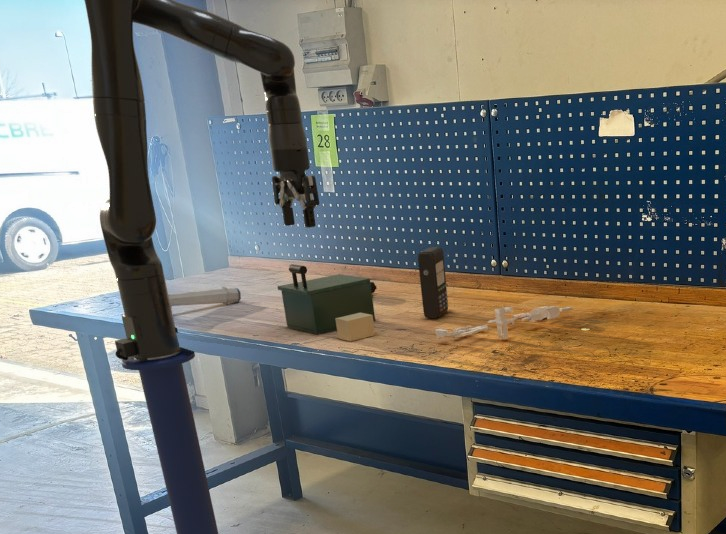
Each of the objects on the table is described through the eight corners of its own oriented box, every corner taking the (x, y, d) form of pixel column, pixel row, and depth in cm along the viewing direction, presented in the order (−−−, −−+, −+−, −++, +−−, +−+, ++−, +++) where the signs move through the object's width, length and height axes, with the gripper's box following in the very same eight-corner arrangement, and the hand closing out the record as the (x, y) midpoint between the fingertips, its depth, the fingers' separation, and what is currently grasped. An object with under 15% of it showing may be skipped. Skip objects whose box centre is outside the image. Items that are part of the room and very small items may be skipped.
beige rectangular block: (350, 341, 178) (347, 320, 177) (338, 338, 181) (335, 318, 180) (375, 335, 182) (372, 314, 181) (362, 332, 185) (360, 312, 184)
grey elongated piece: (468, 350, 161) (423, 352, 169) (574, 322, 187) (531, 325, 195) (463, 316, 160) (418, 320, 168) (571, 292, 186) (527, 297, 193)
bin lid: (307, 295, 182) (303, 268, 180) (277, 289, 191) (273, 264, 189) (370, 282, 193) (367, 257, 191) (339, 277, 201) (336, 253, 199)
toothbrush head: (241, 287, 226) (149, 291, 208) (243, 312, 227) (151, 319, 209) (231, 285, 229) (139, 290, 211) (232, 310, 231) (141, 317, 213)
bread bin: (316, 334, 186) (310, 294, 183) (287, 327, 194) (281, 289, 191) (375, 320, 196) (370, 282, 193) (344, 314, 204) (339, 277, 201)
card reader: (439, 319, 193) (433, 252, 187) (422, 319, 193) (415, 253, 188) (450, 310, 201) (444, 246, 195) (434, 310, 202) (428, 246, 196)
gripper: (255, 148, 181) (267, 226, 187) (290, 147, 171) (302, 229, 177) (286, 146, 186) (297, 222, 192) (322, 145, 176) (332, 225, 182)
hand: (300, 226), depth 184 cm, fingers open, 8 cm apart
